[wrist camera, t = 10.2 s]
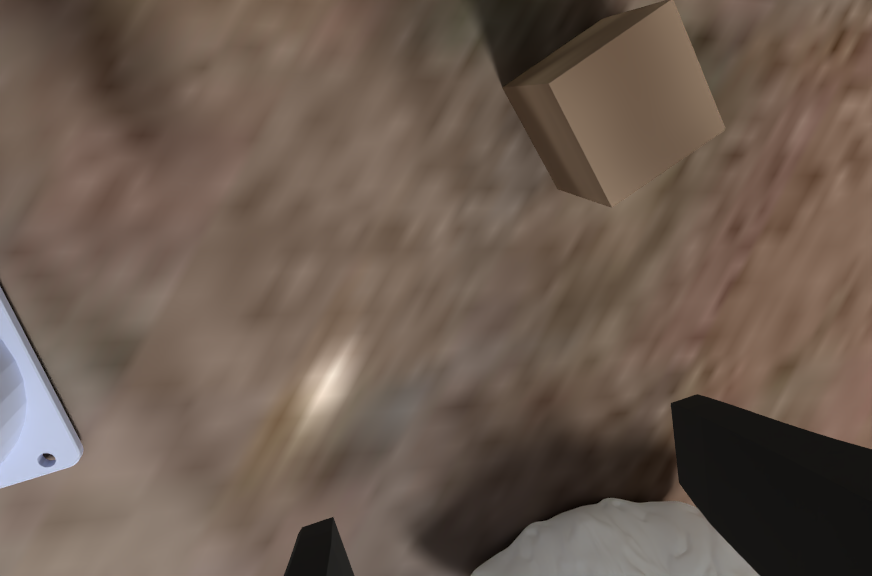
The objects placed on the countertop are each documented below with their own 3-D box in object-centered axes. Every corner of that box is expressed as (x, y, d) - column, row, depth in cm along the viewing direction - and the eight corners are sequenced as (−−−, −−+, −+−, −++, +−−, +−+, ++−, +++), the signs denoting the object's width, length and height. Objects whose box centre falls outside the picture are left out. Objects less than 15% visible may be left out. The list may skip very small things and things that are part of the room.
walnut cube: (556, 188, 21) (612, 207, 17) (501, 87, 19) (548, 83, 16) (649, 124, 21) (725, 129, 17) (602, 18, 19) (672, -2, 16)
